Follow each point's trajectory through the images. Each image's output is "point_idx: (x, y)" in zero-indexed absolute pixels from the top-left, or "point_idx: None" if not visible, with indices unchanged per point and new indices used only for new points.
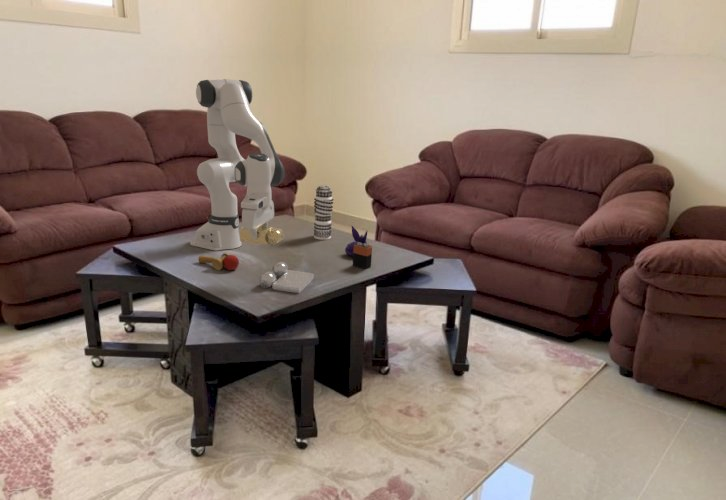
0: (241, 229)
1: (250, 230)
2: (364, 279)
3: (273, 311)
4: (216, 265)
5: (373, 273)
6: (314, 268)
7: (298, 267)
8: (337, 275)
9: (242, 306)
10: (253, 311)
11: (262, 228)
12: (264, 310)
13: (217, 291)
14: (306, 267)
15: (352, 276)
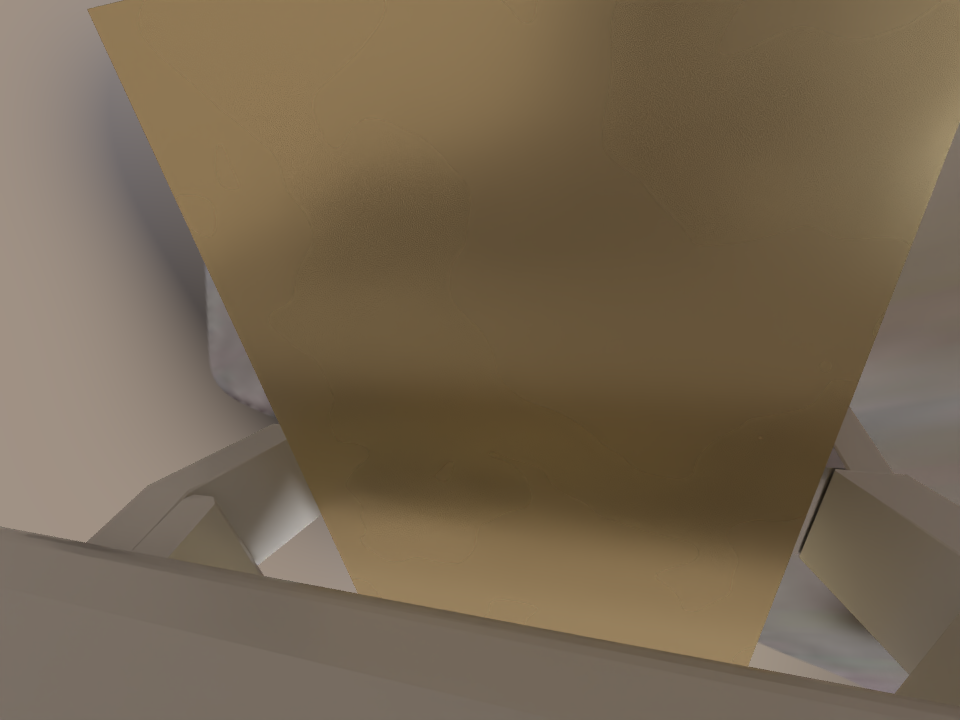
0: (179, 106)
1: (153, 490)
2: (765, 642)
3: (274, 417)
4: None
5: (870, 672)
6: (932, 457)
7: (949, 361)
8: (799, 563)
9: (216, 296)
10: (220, 355)
11: (518, 611)
12: (256, 388)
13: None
14: (955, 410)
15: (799, 611)
